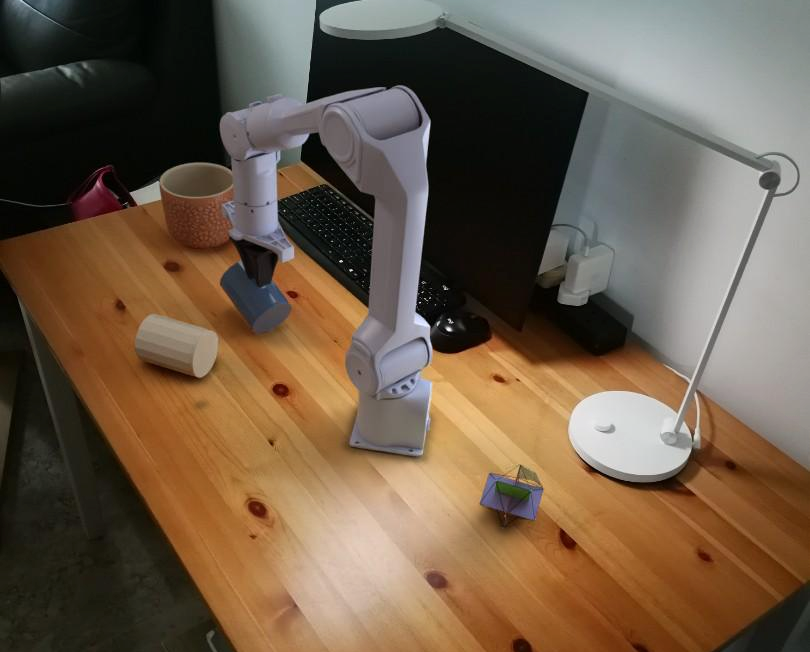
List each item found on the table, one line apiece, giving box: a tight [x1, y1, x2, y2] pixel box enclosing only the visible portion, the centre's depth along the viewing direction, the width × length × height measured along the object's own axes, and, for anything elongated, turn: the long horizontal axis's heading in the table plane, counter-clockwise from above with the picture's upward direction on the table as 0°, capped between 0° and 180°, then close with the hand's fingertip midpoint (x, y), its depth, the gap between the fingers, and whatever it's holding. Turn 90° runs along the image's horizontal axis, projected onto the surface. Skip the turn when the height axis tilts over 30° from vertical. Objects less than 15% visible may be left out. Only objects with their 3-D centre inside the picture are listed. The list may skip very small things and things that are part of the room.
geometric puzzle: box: [478, 463, 545, 529], centre depth 100 cm, size 7×7×8 cm
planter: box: [158, 162, 234, 250], centre depth 141 cm, size 12×12×11 cm
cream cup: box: [134, 313, 219, 379], centre depth 117 cm, size 7×7×9 cm
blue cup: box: [219, 259, 293, 335], centre depth 125 cm, size 7×7×9 cm
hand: (259, 280), depth 122 cm, fingers closed
